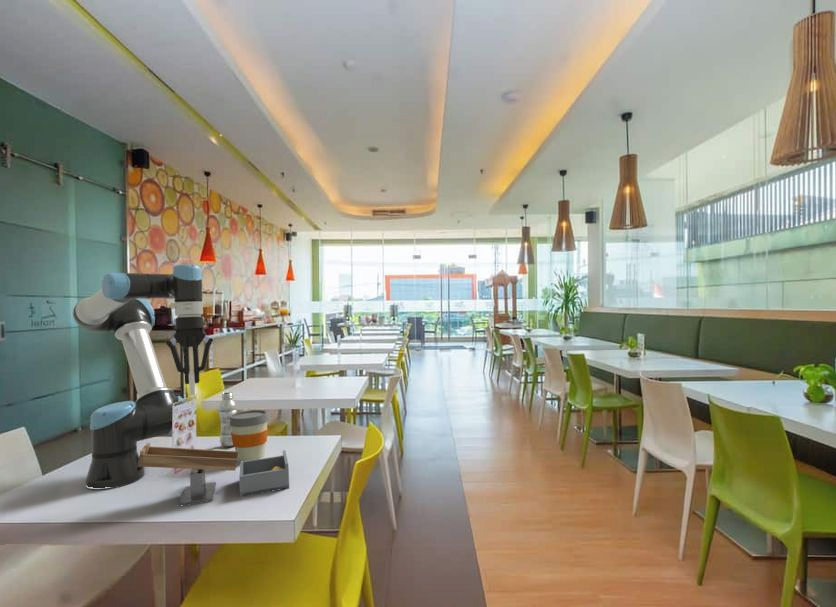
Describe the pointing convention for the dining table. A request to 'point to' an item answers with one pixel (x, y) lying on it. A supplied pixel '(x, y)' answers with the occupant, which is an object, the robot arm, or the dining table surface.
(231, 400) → the plastic bottle
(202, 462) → the chute
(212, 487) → the stand
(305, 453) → the dining table surface
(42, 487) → the dining table surface
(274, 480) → the grey tray
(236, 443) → the reusable coffee cup
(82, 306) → the robot arm
